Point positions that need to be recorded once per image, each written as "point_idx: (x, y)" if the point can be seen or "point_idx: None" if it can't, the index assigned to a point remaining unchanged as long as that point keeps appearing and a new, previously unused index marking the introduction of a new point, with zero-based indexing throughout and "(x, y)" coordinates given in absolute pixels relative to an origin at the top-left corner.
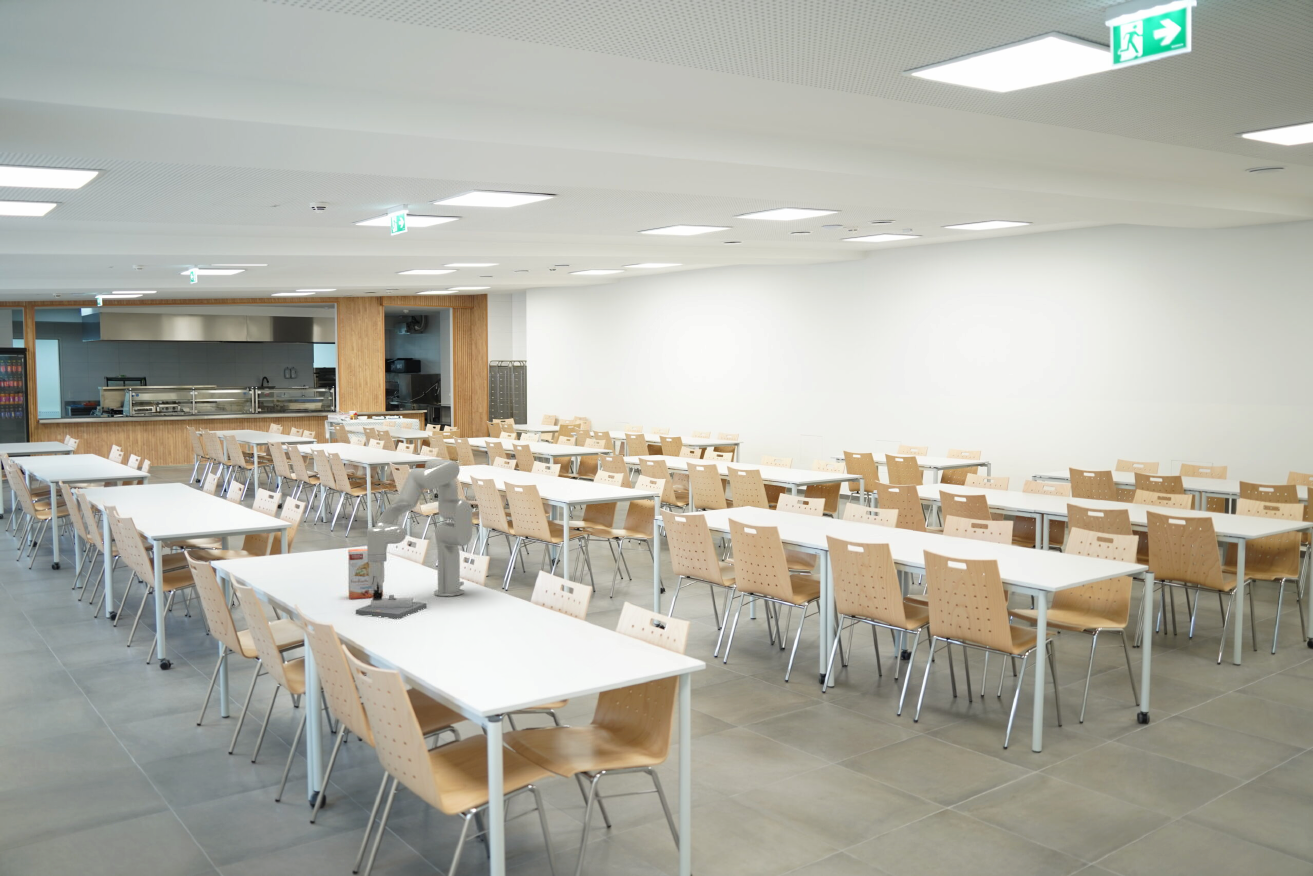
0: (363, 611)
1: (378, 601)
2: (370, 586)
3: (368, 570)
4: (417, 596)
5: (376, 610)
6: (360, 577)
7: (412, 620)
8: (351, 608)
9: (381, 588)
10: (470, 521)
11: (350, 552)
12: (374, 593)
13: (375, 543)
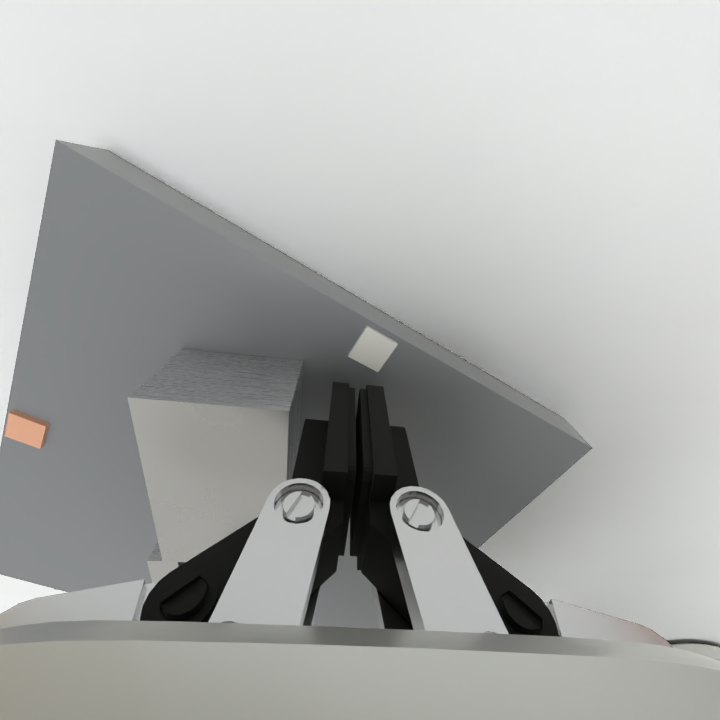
0: (43, 264)
1: (152, 474)
2: (59, 641)
3: None
4: (692, 581)
5: (68, 410)
6: None
7: (4, 590)
8: (492, 43)
9: (408, 628)
10: None
11: None
12: (324, 480)
13: None
